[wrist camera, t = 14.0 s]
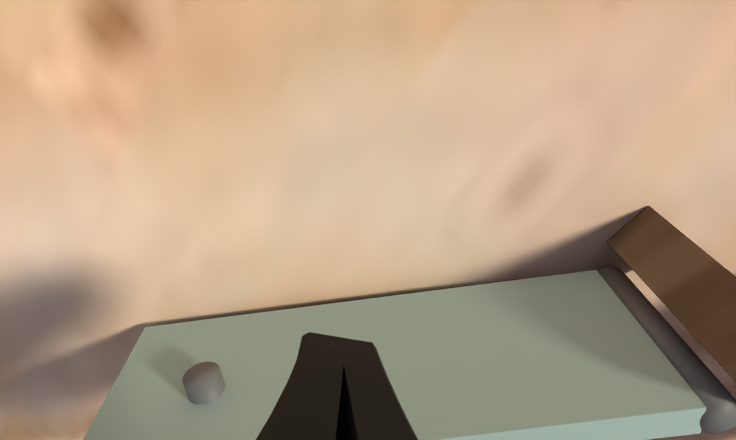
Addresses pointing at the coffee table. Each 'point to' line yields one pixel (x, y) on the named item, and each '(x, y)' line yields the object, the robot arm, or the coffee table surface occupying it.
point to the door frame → (683, 281)
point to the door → (439, 366)
